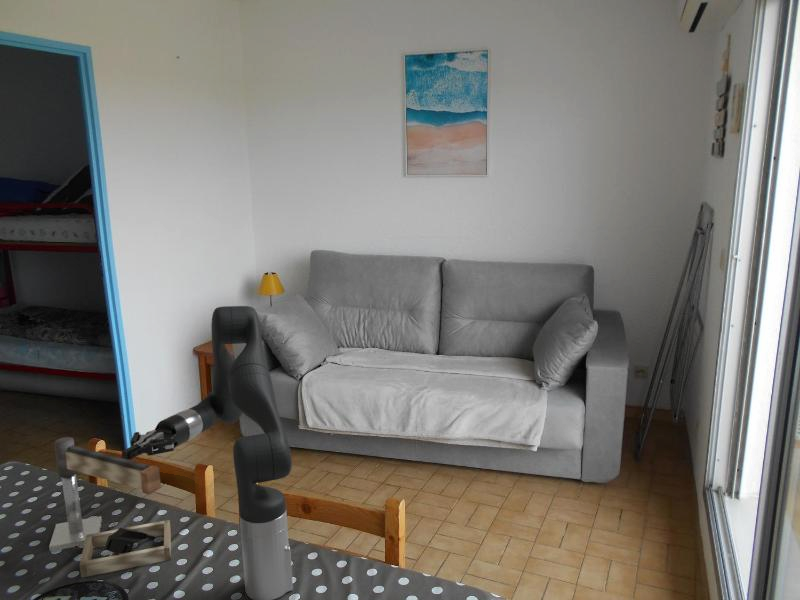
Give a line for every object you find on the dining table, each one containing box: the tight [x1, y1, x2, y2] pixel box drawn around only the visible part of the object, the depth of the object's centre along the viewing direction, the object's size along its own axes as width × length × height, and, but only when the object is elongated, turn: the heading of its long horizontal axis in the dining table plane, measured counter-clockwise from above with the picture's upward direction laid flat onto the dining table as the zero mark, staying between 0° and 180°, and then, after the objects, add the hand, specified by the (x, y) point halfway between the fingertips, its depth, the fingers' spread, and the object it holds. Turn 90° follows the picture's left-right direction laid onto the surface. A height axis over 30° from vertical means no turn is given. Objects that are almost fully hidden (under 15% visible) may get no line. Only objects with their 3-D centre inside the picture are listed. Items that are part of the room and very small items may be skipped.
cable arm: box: [53, 436, 162, 496], centre depth 144 cm, size 30×4×8 cm, turn 64°
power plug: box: [103, 527, 155, 556], centre depth 146 cm, size 6×8×12 cm
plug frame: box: [79, 519, 172, 578], centre depth 146 cm, size 18×12×3 cm, turn 109°
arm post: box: [48, 473, 103, 552], centre depth 152 cm, size 10×10×16 cm
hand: (124, 456), depth 150 cm, fingers closed
